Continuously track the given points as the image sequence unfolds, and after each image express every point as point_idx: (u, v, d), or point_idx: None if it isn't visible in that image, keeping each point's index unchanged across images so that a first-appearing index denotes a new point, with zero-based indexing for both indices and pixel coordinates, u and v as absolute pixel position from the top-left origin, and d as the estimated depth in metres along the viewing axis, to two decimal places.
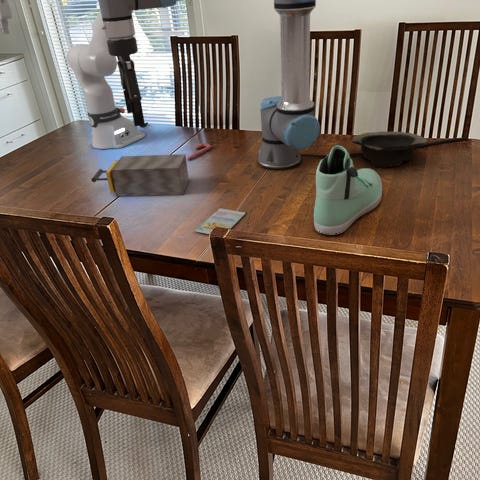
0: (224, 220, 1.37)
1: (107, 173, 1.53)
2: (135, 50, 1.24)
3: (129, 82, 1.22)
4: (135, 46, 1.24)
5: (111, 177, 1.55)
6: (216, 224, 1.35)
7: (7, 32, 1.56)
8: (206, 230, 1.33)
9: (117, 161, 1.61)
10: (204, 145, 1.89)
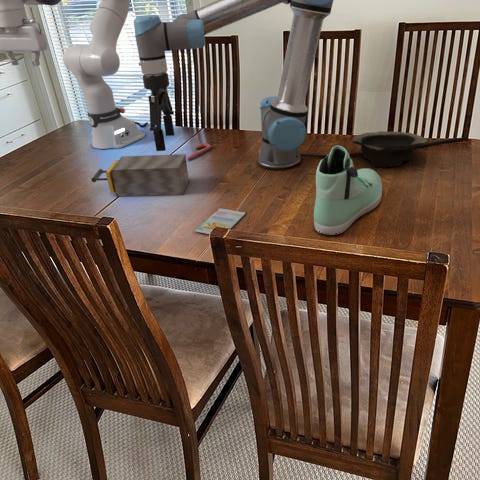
0: (224, 220, 1.37)
1: (107, 173, 1.53)
2: (164, 85, 1.40)
3: (151, 114, 1.39)
4: (164, 82, 1.40)
5: (111, 177, 1.55)
6: (216, 224, 1.35)
7: (38, 63, 1.57)
8: (206, 230, 1.33)
9: (117, 161, 1.61)
10: (204, 145, 1.89)
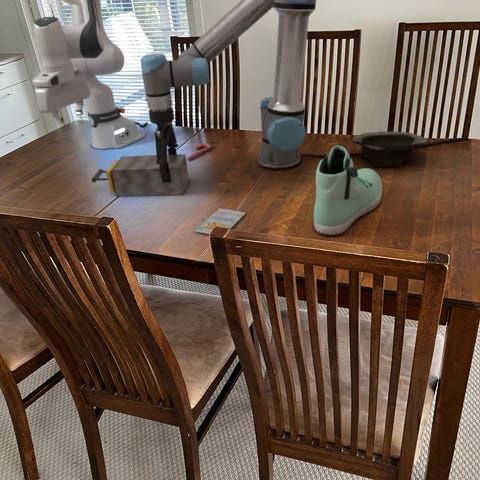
0: (224, 220, 1.37)
1: (107, 173, 1.53)
2: (169, 120, 1.45)
3: (157, 148, 1.45)
4: (169, 116, 1.45)
5: (111, 177, 1.55)
6: (216, 224, 1.35)
7: None
8: (206, 230, 1.33)
9: (117, 161, 1.61)
10: (204, 145, 1.89)
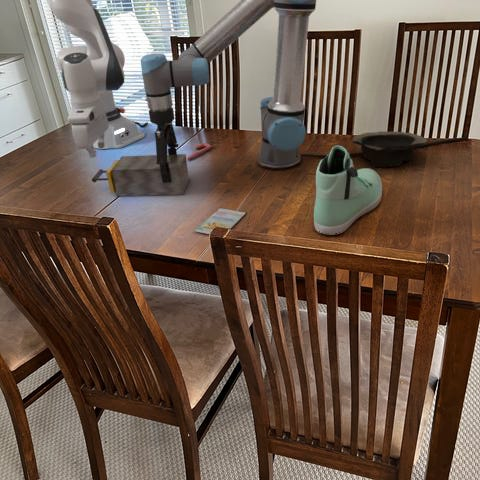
0: (224, 220, 1.37)
1: (107, 173, 1.53)
2: (169, 120, 1.45)
3: (157, 148, 1.45)
4: (170, 116, 1.45)
5: (111, 177, 1.55)
6: (216, 224, 1.35)
7: None
8: (206, 230, 1.33)
9: (117, 161, 1.61)
10: (204, 145, 1.89)
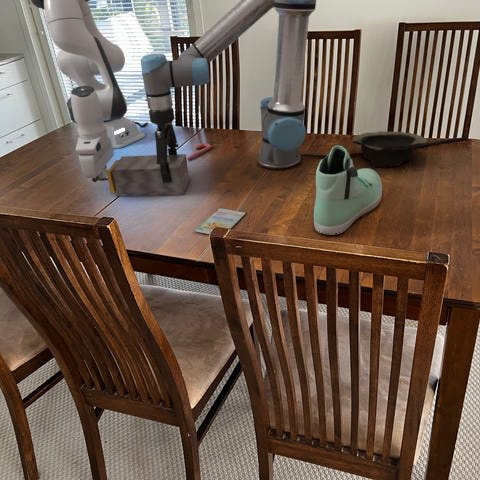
0: (224, 220, 1.37)
1: (108, 173, 1.53)
2: (169, 120, 1.45)
3: (157, 148, 1.45)
4: (170, 116, 1.45)
5: (112, 177, 1.55)
6: (216, 224, 1.35)
7: None
8: (206, 230, 1.33)
9: None
10: (204, 145, 1.89)
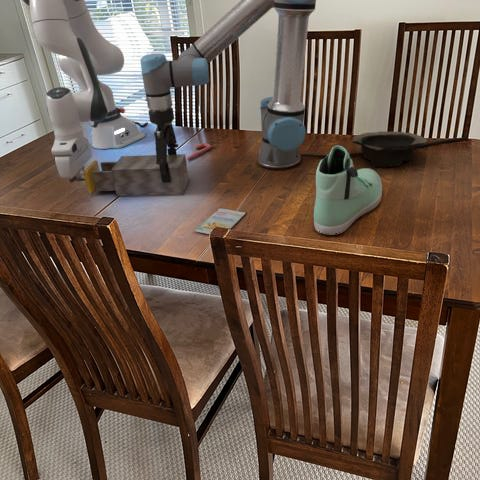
0: (224, 220, 1.37)
1: (84, 173, 1.54)
2: (169, 120, 1.45)
3: (157, 148, 1.45)
4: (169, 116, 1.45)
5: (89, 177, 1.56)
6: (216, 224, 1.35)
7: None
8: (206, 230, 1.33)
9: (95, 161, 1.62)
10: (204, 145, 1.89)
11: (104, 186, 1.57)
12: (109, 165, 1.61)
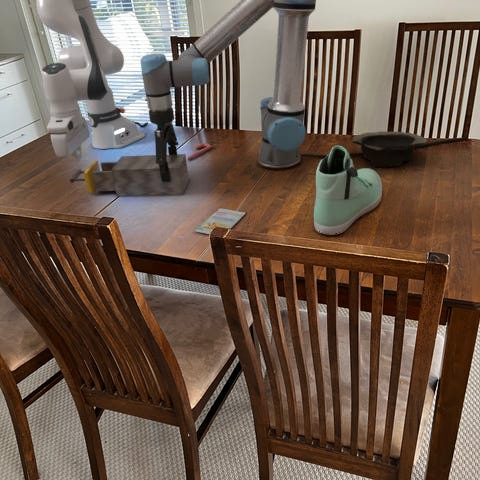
0: (224, 220, 1.37)
1: (84, 174, 1.54)
2: (169, 120, 1.45)
3: (156, 148, 1.44)
4: (169, 116, 1.45)
5: (89, 178, 1.56)
6: (216, 224, 1.35)
7: None
8: (206, 230, 1.33)
9: (95, 162, 1.62)
10: (204, 145, 1.89)
11: (104, 186, 1.57)
12: (109, 165, 1.62)
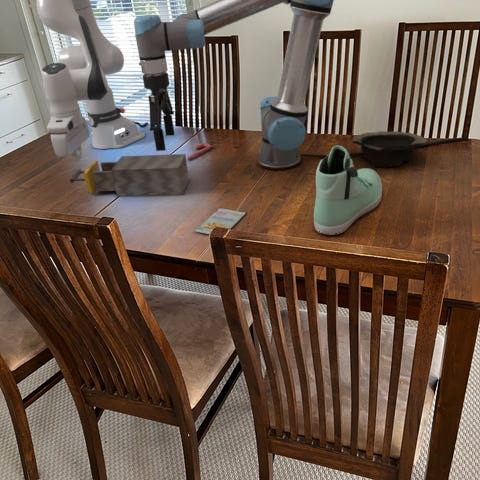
0: (224, 220, 1.37)
1: (84, 174, 1.54)
2: (164, 85, 1.40)
3: (151, 113, 1.39)
4: (164, 81, 1.40)
5: (89, 178, 1.56)
6: (216, 224, 1.35)
7: None
8: (206, 230, 1.33)
9: (95, 162, 1.62)
10: (204, 145, 1.89)
11: (104, 186, 1.57)
12: (109, 165, 1.62)
